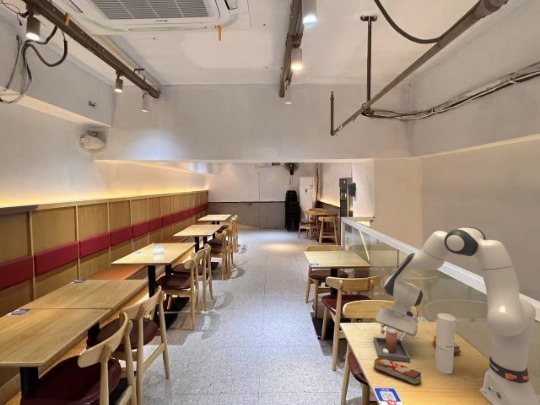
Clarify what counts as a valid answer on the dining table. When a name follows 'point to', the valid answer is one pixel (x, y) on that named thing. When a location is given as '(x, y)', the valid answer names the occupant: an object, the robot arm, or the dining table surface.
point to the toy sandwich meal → (456, 347)
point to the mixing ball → (385, 351)
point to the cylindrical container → (445, 343)
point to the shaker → (391, 339)
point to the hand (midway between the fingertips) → (390, 336)
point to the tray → (399, 356)
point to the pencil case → (398, 370)
